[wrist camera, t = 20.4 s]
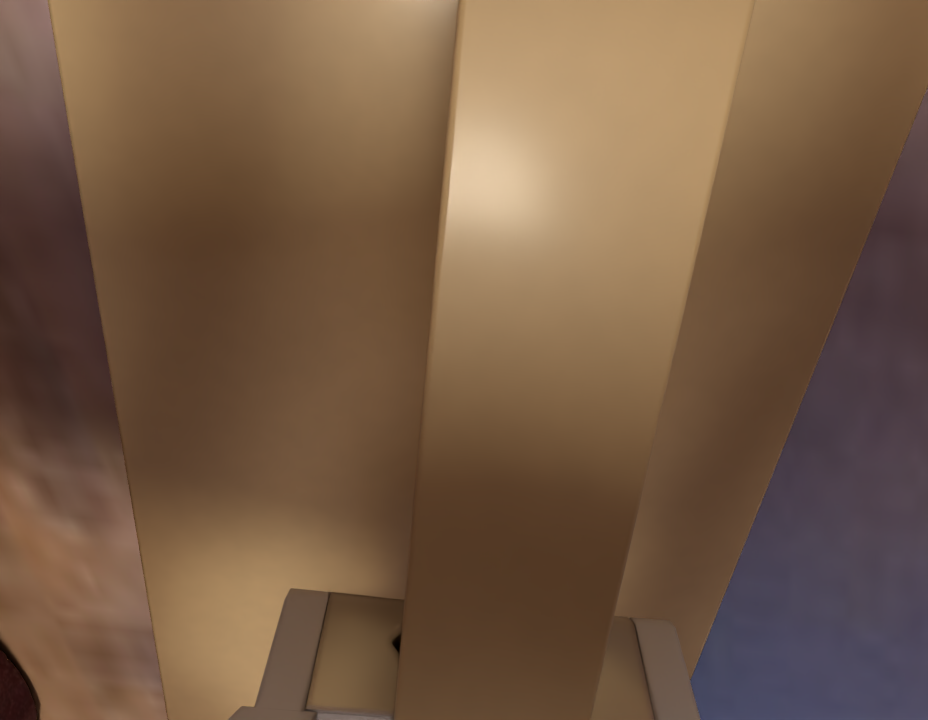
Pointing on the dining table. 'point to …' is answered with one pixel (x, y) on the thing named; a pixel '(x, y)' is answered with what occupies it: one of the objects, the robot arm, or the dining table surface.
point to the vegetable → (14, 693)
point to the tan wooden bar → (553, 335)
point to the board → (417, 293)
